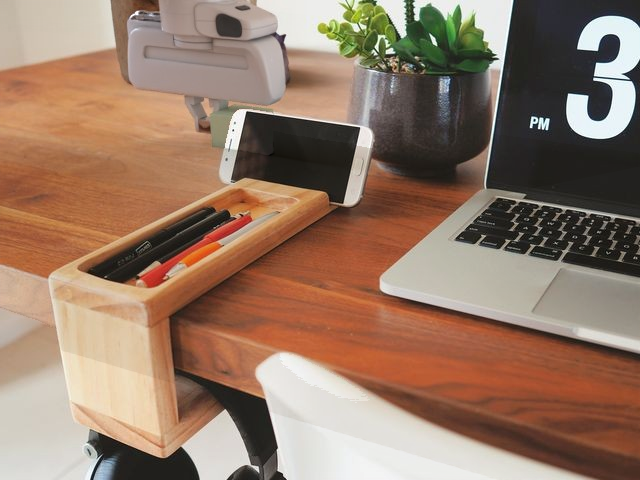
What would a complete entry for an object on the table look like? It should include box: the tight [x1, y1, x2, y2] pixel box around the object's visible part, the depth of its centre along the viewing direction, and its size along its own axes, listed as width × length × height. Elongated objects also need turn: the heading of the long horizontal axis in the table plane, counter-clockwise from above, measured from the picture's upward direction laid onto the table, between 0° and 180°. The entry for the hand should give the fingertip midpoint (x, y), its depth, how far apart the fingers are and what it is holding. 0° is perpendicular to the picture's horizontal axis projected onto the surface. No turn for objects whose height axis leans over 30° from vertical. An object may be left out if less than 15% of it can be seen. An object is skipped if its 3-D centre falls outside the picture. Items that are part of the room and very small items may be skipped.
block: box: [110, 0, 160, 85], centre depth 119 cm, size 11×8×20 cm
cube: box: [209, 103, 274, 150], centre depth 87 cm, size 6×6×6 cm
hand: (209, 132), depth 89 cm, fingers closed
